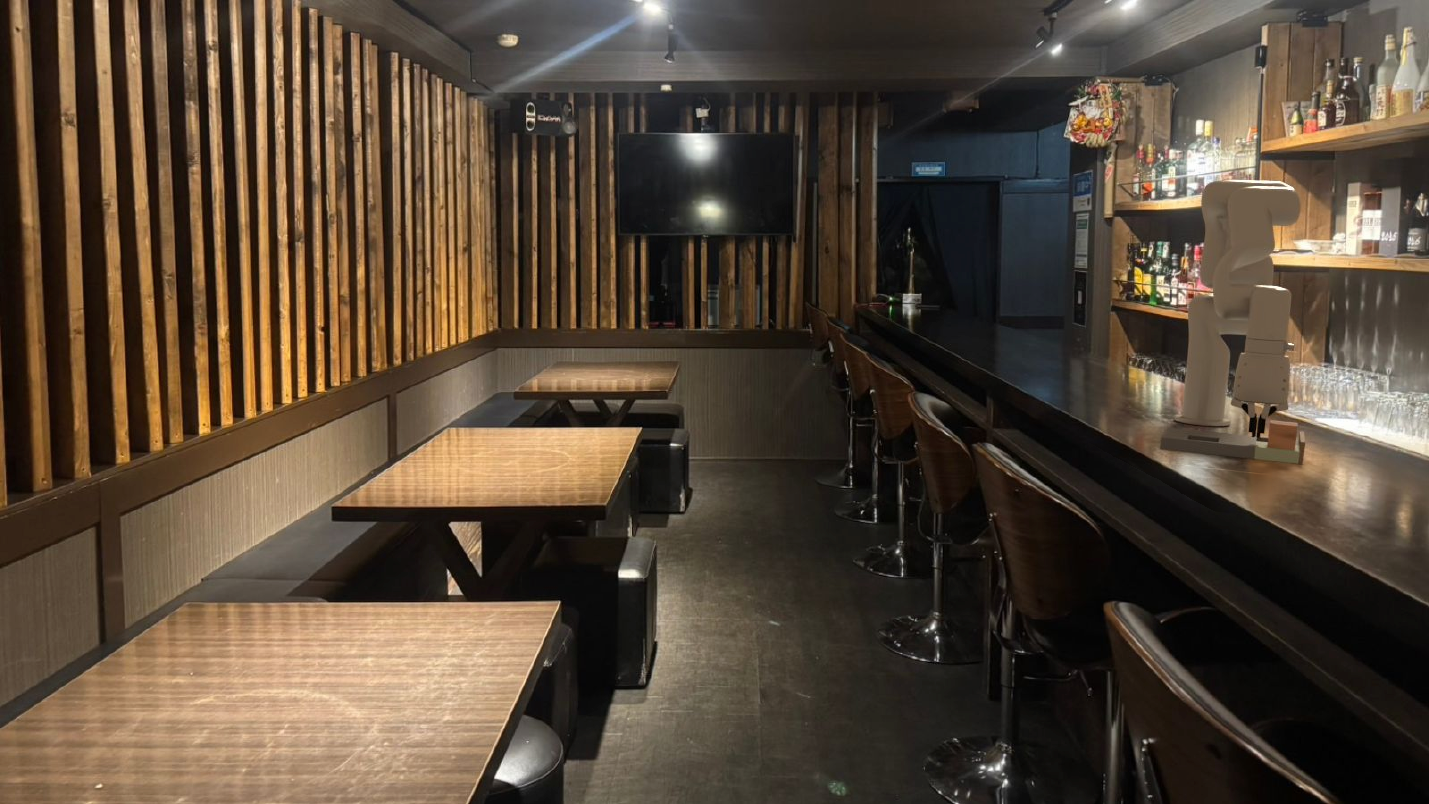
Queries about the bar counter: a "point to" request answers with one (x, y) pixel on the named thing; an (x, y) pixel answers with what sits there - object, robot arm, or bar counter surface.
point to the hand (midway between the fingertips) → (1255, 436)
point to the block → (1282, 435)
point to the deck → (1230, 445)
